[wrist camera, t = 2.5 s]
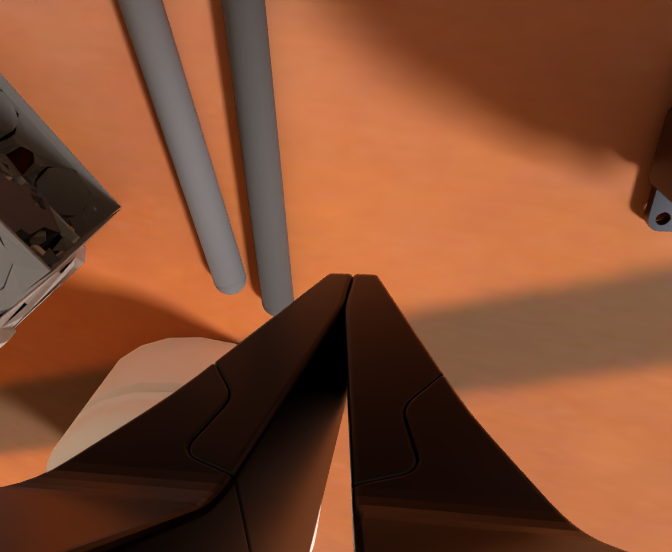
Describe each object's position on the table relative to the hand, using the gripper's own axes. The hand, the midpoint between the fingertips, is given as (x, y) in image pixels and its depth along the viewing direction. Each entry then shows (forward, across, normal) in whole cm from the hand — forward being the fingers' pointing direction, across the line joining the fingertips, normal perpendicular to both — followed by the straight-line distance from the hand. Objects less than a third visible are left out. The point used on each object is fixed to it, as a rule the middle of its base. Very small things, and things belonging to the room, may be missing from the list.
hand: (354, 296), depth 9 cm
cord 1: (+12, +8, 0) cm, 14 cm away
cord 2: (+12, +5, 0) cm, 13 cm away
